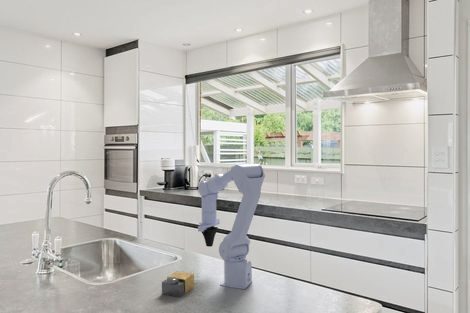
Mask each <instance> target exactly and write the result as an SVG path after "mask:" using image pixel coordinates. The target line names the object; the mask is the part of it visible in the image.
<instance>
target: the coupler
mask: <svg viewBox="0 0 470 313" xmlns="http://www.w3.org/2000/svg"><path fill="white" fill-rule="evenodd" d="M161 295H165V296H170V297H174V298H175V297H176V298H181V297H183V296H185V294H184V282H179V278H177V277H171V278H168V279H167V278H166V279H165V280H163V281H161Z"/></svg>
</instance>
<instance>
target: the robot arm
mask: <svg viewBox="0 0 470 313" xmlns="http://www.w3.org/2000/svg"><path fill="white" fill-rule="evenodd" d="M265 177H266V176H265V172H264V169H263V166H262V165H261V164H259V163H254V164H252V163H251V164H235V165H234V166H231V167H230V169H228V170H227V171H226V172H225V173H224V174H223V173H215V174H214V176H212V177H209V178H208V180H201V181H200V182H199V183H198V187H197V189H198V193H199V195H200V196H201V221H199V223H198V224H199V225H198V226H197V231H198V232H199V233H200V232H201V234H202V235H203V239H204V242H205V246H206V247H213V246H214V245H213V244H214V241H215V236H216V233H217V232H218V230H219V227H218V225H220V219H219V218H217V200H218V196H219V192H220V191H222V190H224V189H226V188H227V187H228V184H229V183H231V182H233V184H234V185H235V187H236V188H237V190H238V192H239V193H241V194H242V198H241V200H240V204H239V207H238V210H237V212H236V216H235V220H234V222H233V224H232V228H231V231H230V232H229V233H228V234H226V235H225V236H224V237H223V240H222V241H221V242H220V243H219V247H218V252H219V256H220V257H221V259H222V260H223V268H224V269H223V271H224V274H223V275H224V280H223V281H222V282H221V283H220V284H219V285H220V286H221V287H229V288H235V289H241V290H246V288H248V286H249V285H250V284H252V283H253V278H252V277H253V276H252V275H253V274H252V272H253V270H252V268H253V267H252V262H251V260H247V255H249V251H250V244H251V240H250V238H249V236H247V235H248V233H249V229H250V227H251V224H252V220H253V218H254V215H255V212H256V208H257V206H258V203H259V201H260V198H261V195H262V194H261V191H262V186H263V182H264V181H265Z"/></svg>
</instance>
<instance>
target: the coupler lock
mask: <svg viewBox="0 0 470 313" xmlns="http://www.w3.org/2000/svg"><path fill="white" fill-rule="evenodd" d="M171 277H177V278H179V282H184V295H186V294H187V293H188V292H190V291H191V290H193V289H194V288H195V273H192V272H185V271H175V272H173V273H171V274H169V275H167V277H166V280H167V279H168V278H171Z"/></svg>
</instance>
